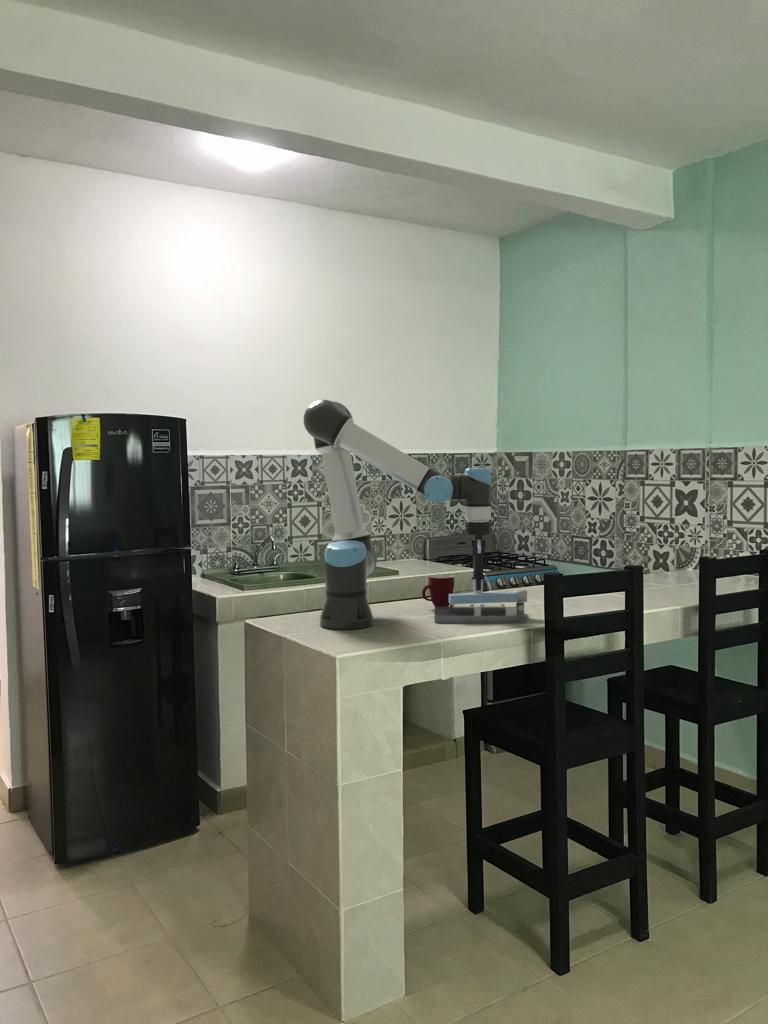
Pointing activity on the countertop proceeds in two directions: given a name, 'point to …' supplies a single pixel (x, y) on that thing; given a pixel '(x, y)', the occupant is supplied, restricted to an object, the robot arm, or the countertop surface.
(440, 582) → the mug
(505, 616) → the server tray
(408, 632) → the countertop surface
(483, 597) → the bar
